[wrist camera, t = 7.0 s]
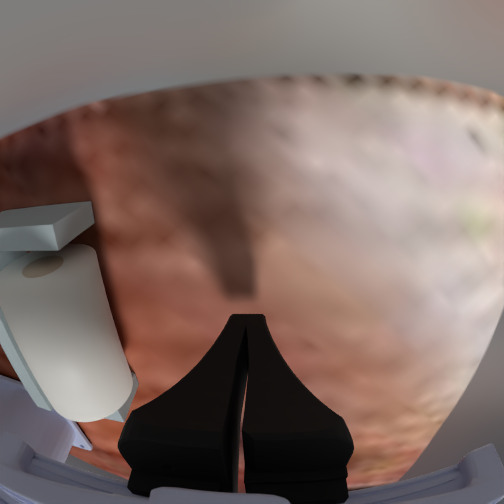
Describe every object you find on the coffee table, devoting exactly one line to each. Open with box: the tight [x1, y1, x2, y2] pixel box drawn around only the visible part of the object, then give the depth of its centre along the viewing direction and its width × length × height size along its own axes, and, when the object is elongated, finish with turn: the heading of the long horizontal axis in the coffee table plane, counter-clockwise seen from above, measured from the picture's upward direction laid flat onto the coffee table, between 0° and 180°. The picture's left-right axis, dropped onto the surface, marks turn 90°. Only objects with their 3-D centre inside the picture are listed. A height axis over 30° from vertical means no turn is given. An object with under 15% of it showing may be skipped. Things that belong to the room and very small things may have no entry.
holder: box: [0, 201, 139, 422], centre depth 13 cm, size 6×11×4 cm, turn 1°
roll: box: [0, 244, 133, 422], centre depth 12 cm, size 5×7×5 cm
